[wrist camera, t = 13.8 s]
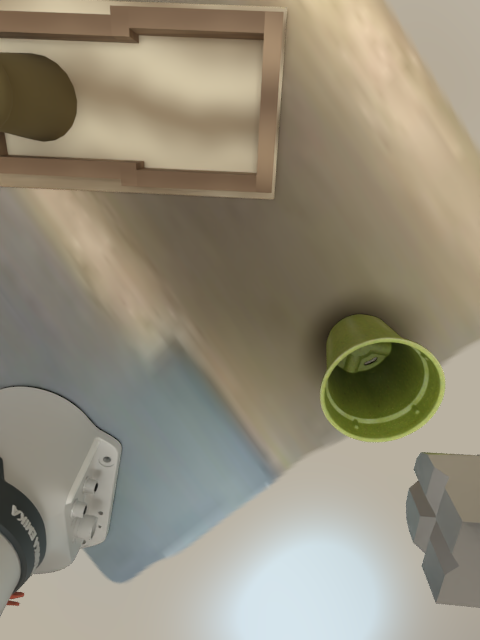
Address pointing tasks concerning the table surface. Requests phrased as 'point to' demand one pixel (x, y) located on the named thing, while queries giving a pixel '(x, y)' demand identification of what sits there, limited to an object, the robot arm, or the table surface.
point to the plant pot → (378, 381)
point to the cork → (35, 97)
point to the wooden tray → (153, 96)
